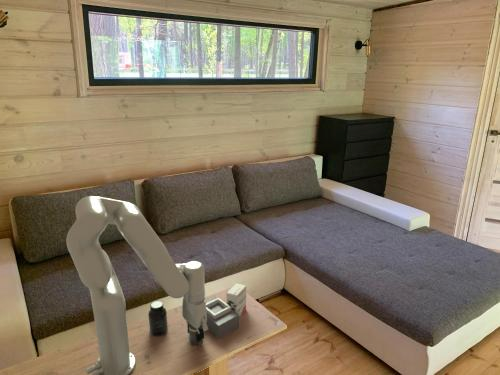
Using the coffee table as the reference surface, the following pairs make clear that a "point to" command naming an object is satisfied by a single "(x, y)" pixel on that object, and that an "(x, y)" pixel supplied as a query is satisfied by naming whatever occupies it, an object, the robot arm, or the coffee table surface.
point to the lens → (193, 335)
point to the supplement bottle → (157, 318)
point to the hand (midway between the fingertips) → (195, 335)
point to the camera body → (220, 317)
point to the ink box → (237, 298)
